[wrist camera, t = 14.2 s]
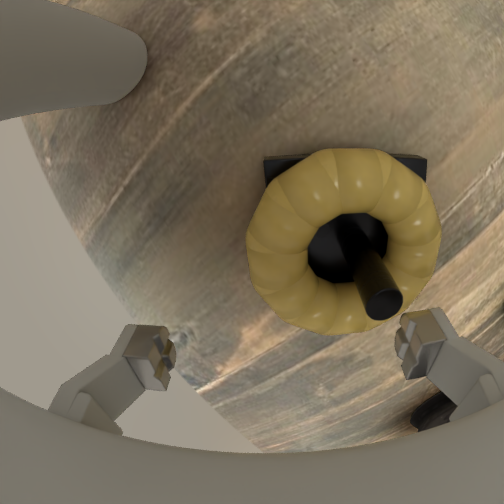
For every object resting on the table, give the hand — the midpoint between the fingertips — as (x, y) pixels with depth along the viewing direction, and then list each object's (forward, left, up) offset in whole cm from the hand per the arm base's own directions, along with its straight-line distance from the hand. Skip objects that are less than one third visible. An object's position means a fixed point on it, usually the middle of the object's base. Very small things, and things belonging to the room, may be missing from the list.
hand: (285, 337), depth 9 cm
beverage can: (-8, +11, -9) cm, 17 cm away
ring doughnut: (+4, 0, -6) cm, 7 cm away
